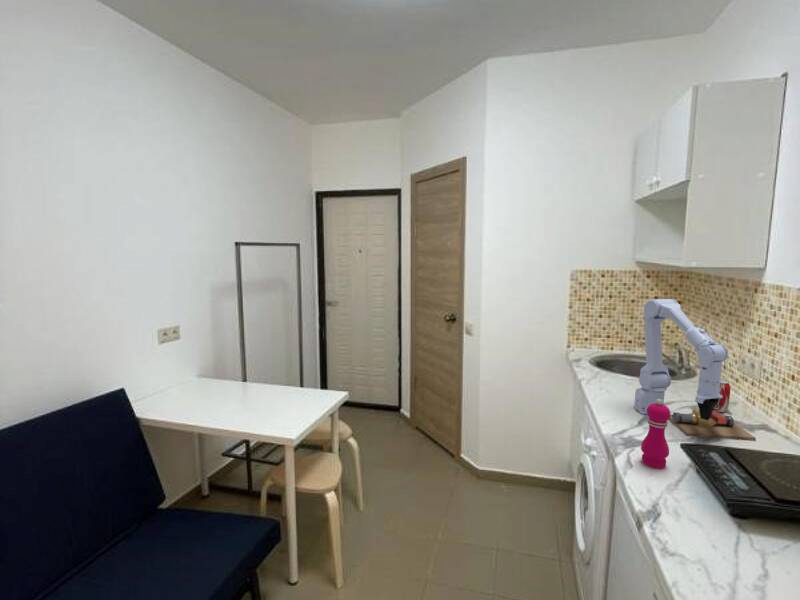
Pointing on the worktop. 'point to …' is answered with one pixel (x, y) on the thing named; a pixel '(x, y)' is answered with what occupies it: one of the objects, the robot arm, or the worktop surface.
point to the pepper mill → (656, 436)
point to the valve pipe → (699, 419)
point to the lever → (718, 418)
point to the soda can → (725, 392)
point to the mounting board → (714, 431)
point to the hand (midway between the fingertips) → (705, 418)
